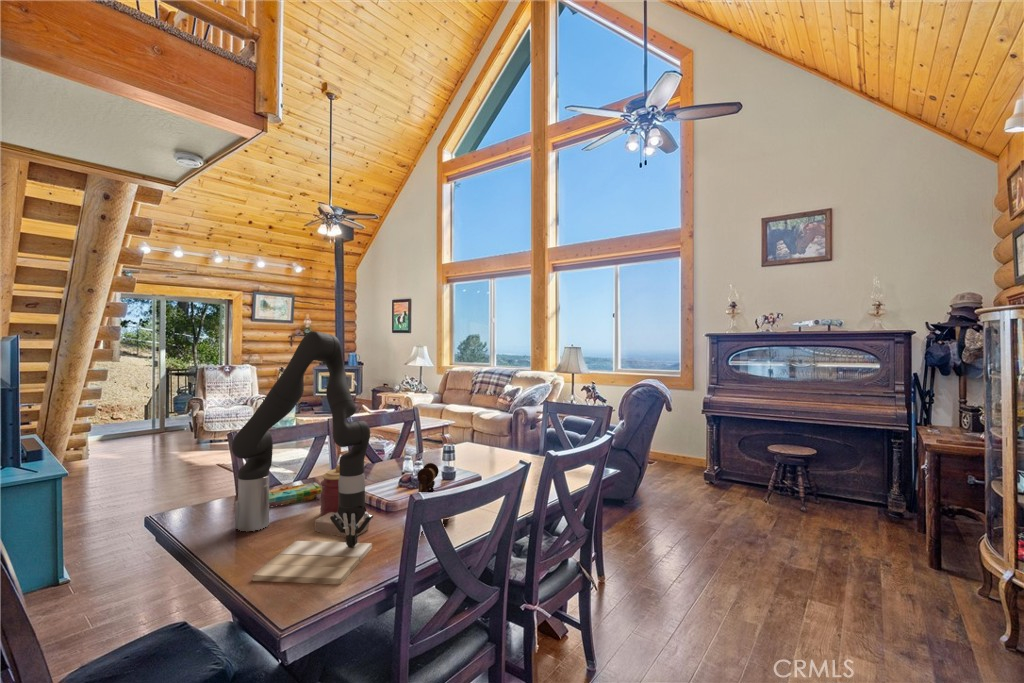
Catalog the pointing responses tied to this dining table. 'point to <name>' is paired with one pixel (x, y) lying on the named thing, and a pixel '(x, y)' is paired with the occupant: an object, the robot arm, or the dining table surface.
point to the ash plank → (327, 549)
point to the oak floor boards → (307, 569)
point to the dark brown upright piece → (428, 479)
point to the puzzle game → (293, 494)
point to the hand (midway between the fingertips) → (351, 546)
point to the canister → (330, 492)
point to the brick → (332, 525)
